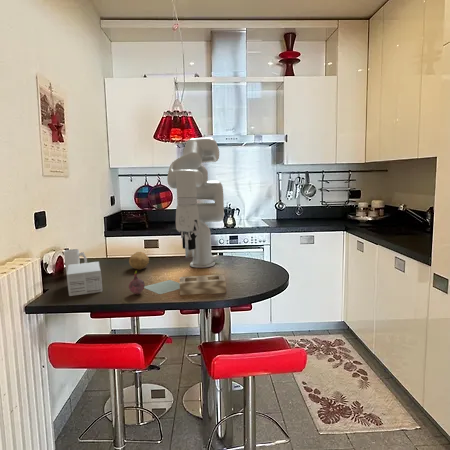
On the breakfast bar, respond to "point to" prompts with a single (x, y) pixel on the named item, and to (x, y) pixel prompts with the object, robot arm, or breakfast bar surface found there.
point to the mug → (73, 257)
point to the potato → (139, 260)
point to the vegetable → (136, 285)
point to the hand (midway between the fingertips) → (189, 248)
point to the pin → (187, 252)
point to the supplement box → (84, 278)
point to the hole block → (202, 284)
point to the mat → (163, 287)
